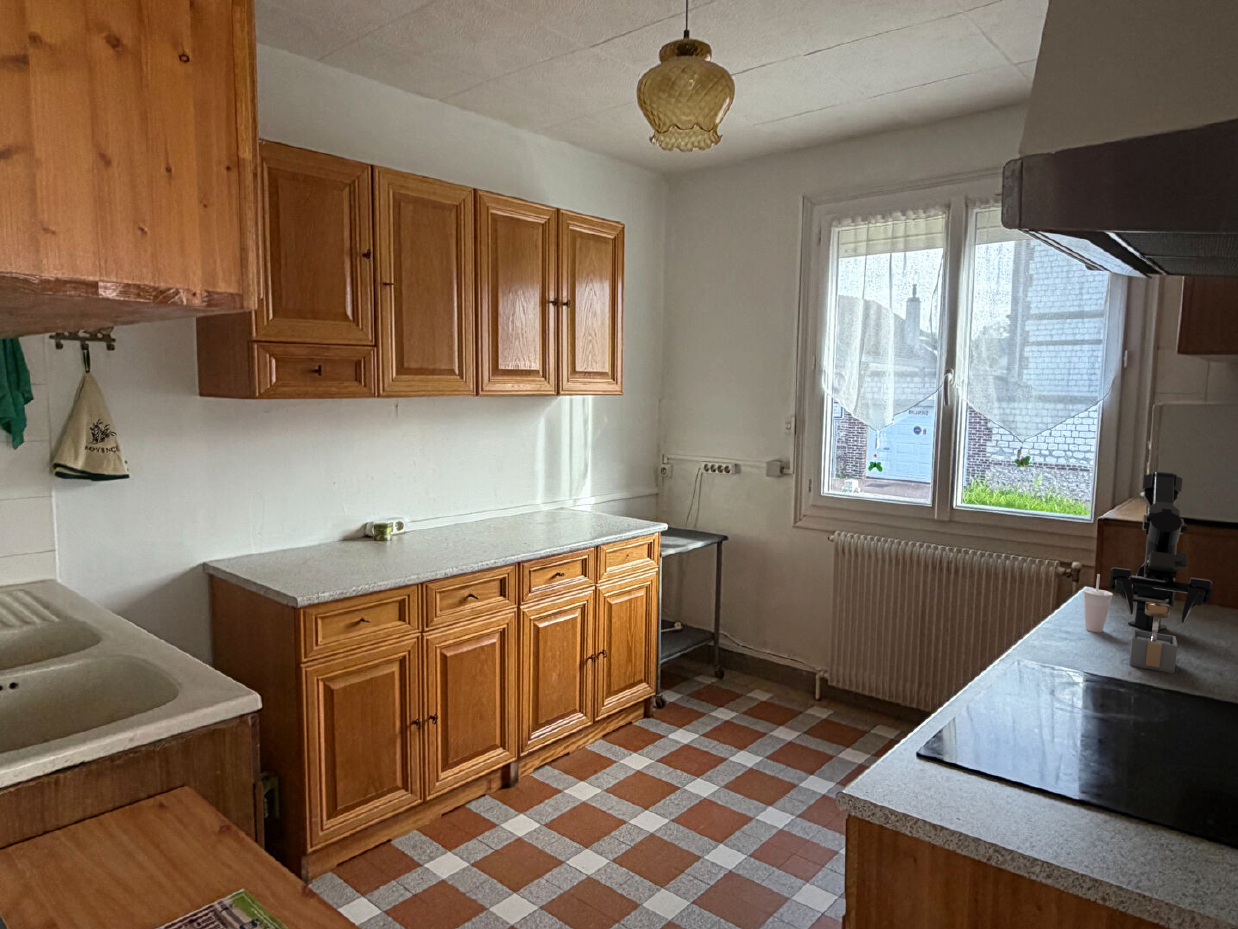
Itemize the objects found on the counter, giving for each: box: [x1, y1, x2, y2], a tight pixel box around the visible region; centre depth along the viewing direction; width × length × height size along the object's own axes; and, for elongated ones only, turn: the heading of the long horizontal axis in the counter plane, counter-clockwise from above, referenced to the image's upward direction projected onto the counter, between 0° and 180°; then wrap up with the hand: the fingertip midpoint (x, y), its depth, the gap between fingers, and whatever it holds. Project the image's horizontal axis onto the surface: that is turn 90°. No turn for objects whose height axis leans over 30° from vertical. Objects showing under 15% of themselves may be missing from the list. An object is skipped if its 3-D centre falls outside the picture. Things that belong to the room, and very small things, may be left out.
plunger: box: [1136, 601, 1171, 644], centre depth 174 cm, size 6×6×9 cm
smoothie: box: [1082, 573, 1114, 633], centre depth 198 cm, size 6×6×14 cm
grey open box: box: [1128, 629, 1178, 674], centre depth 174 cm, size 9×8×6 cm
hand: (1156, 617), depth 173 cm, fingers open, 9 cm apart
